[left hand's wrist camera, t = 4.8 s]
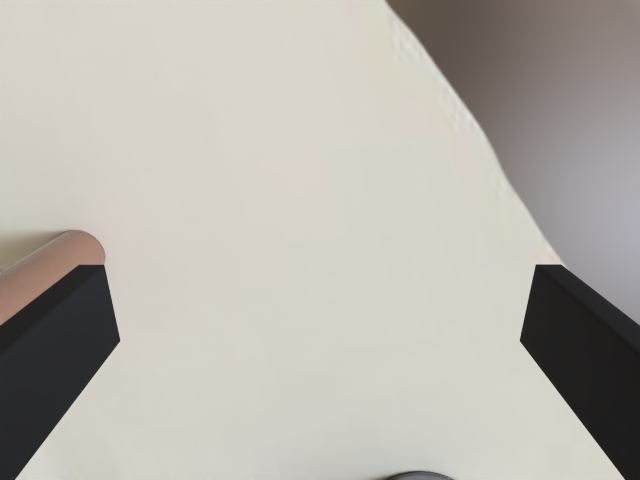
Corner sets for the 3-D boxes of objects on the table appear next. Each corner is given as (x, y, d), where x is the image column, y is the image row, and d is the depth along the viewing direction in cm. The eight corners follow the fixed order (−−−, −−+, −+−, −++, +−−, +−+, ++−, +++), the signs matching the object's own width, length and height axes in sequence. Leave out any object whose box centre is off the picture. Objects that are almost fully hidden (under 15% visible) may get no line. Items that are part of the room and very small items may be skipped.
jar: (44, 245, 42) (-120, 345, 26) (81, 221, 41) (-66, 309, 26) (79, 283, 44) (-57, 398, 28) (115, 260, 43) (-4, 367, 27)
